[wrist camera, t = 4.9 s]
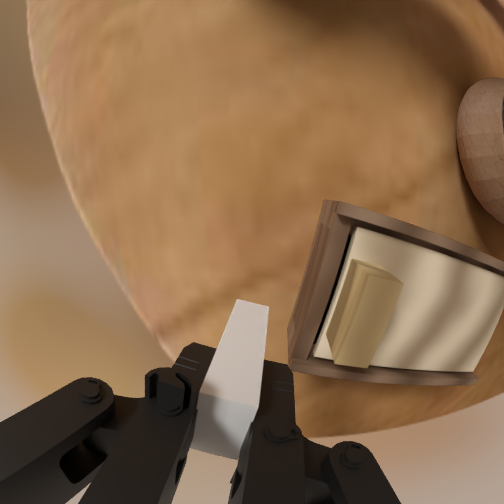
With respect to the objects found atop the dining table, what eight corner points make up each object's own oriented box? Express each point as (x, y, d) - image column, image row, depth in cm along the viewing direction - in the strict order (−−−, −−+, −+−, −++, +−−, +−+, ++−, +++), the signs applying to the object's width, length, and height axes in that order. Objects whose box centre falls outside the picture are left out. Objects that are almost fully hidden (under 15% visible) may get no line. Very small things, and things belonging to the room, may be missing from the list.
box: (287, 328, 26) (288, 370, 19) (324, 199, 23) (341, 201, 16) (449, 354, 25) (475, 384, 18) (488, 256, 22) (525, 272, 15)
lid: (313, 351, 20) (319, 388, 16) (354, 225, 18) (377, 235, 13) (469, 368, 20) (490, 392, 15) (508, 278, 17) (537, 293, 13)
